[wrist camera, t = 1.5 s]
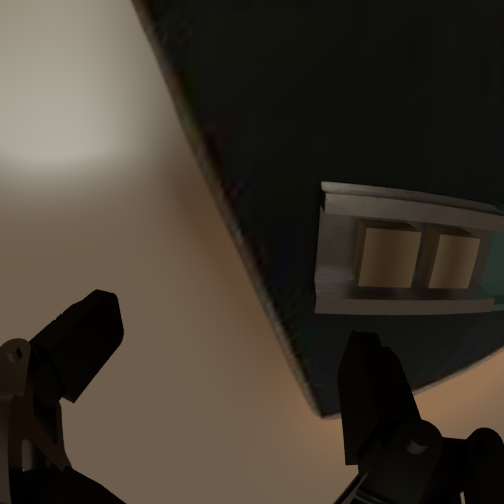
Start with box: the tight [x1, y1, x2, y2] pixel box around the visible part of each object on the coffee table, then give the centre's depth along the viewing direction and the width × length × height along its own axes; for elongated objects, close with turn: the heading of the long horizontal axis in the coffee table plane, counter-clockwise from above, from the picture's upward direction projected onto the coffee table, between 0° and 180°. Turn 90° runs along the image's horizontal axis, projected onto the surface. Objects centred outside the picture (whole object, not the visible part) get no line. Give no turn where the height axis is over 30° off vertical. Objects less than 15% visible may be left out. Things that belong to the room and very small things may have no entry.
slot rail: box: [312, 181, 504, 315], centre depth 21 cm, size 20×11×4 cm, turn 90°
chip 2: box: [417, 225, 480, 288], centre depth 21 cm, size 5×5×3 cm
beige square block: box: [352, 219, 421, 288], centre depth 22 cm, size 5×5×3 cm
